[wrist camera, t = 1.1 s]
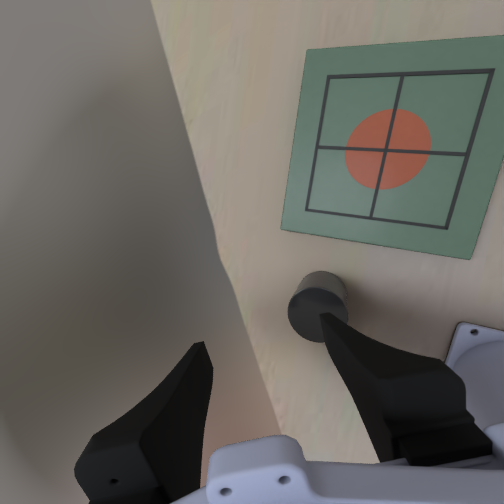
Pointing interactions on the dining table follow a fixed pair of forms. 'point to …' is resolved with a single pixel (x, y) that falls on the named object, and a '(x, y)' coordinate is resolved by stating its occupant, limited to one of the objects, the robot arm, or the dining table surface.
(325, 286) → the dark grey canister
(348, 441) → the dining table surface
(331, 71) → the board
